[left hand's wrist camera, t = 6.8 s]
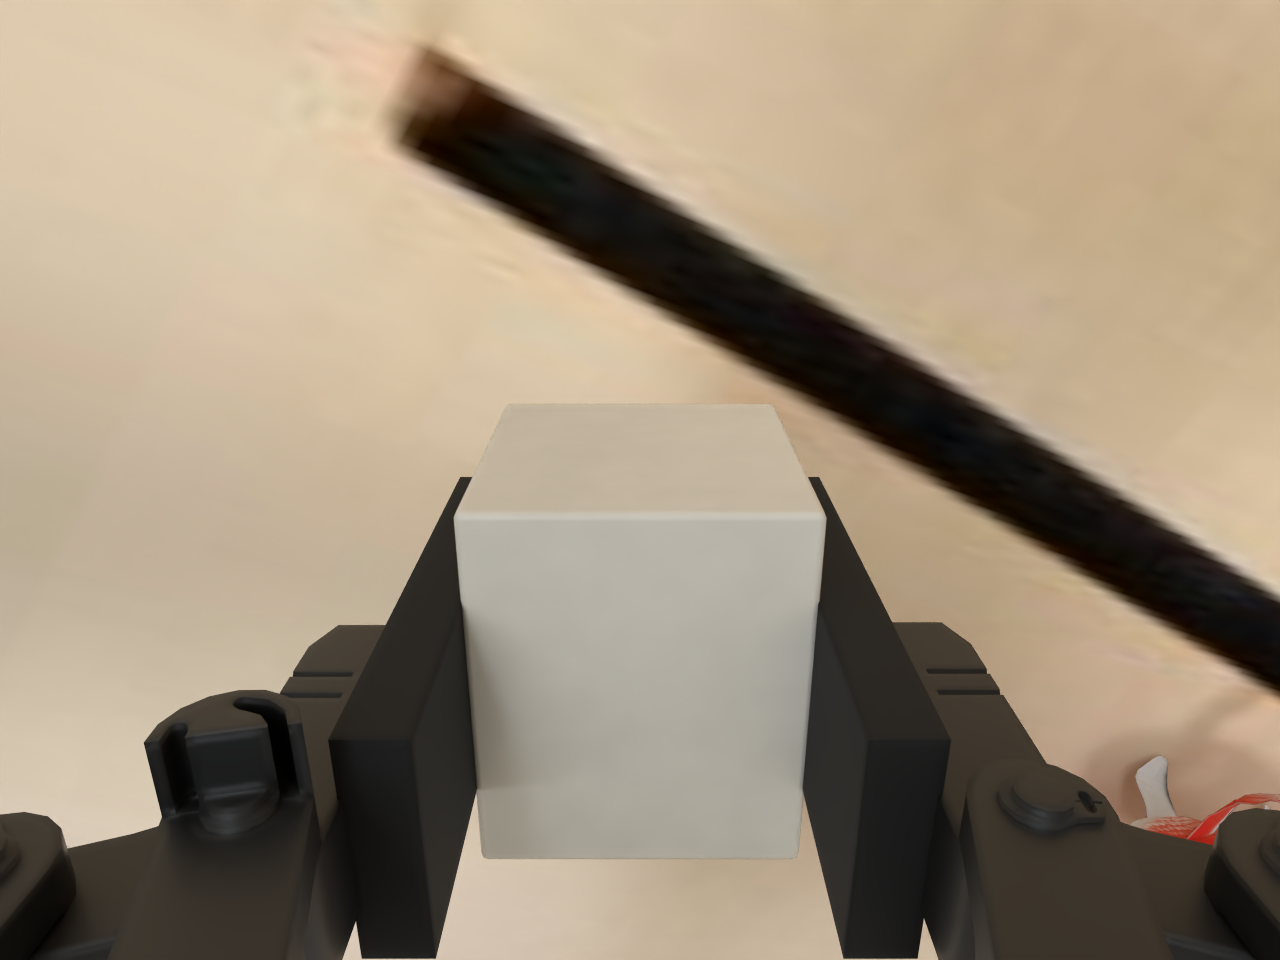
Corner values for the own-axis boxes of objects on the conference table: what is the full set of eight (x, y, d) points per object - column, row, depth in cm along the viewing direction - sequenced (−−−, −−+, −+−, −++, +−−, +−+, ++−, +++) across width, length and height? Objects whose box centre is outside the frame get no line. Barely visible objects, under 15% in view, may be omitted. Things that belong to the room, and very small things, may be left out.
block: (759, 676, 16) (799, 862, 12) (520, 675, 16) (480, 862, 12) (775, 402, 14) (828, 513, 10) (505, 402, 14) (452, 513, 10)
